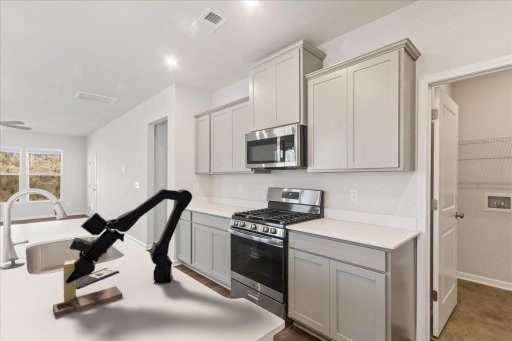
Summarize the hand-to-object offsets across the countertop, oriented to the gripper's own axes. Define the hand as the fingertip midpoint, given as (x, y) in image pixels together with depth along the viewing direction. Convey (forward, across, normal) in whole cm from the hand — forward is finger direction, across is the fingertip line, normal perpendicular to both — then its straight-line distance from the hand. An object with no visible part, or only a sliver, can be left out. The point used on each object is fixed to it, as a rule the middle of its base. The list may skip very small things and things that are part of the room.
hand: (68, 277), depth 95 cm
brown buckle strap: (+1, +7, +10) cm, 12 cm away
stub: (+5, 0, +6) cm, 8 cm away
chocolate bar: (+1, -16, +10) cm, 19 cm away
